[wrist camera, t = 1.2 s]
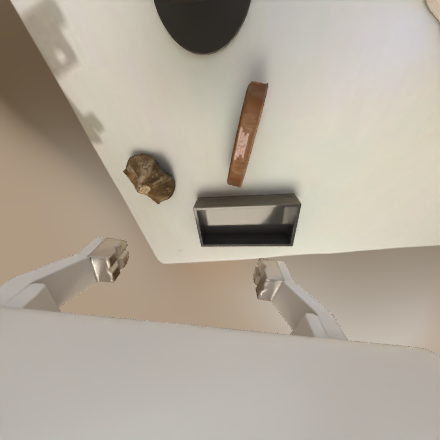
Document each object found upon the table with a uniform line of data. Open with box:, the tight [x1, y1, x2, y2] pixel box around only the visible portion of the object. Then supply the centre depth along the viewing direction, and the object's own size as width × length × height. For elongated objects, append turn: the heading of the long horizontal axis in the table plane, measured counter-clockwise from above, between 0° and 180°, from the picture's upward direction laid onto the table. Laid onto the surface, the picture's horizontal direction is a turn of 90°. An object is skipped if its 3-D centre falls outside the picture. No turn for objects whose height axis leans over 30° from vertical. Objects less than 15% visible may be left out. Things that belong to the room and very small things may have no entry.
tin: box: [227, 82, 268, 188], centre depth 26 cm, size 15×3×8 cm, turn 170°
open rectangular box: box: [193, 194, 301, 247], centre depth 37 cm, size 21×11×5 cm, turn 95°
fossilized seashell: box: [123, 154, 175, 204], centre depth 33 cm, size 8×7×10 cm
